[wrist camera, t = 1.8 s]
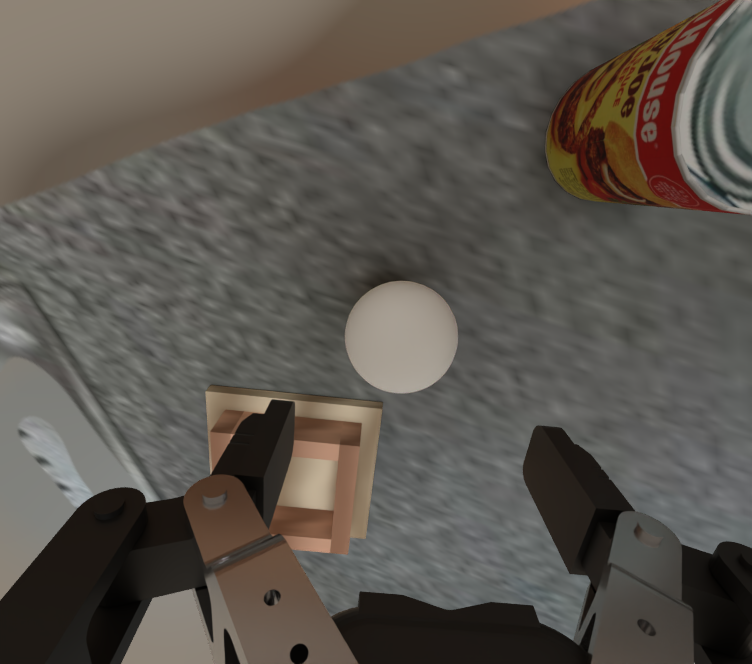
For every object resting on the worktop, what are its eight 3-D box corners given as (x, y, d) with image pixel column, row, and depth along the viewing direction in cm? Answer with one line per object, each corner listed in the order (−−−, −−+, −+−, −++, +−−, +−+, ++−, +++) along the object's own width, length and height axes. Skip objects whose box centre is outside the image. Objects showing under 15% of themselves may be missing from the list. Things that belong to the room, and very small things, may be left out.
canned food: (626, 29, 23) (864, -120, 11) (696, 134, 25) (959, 93, 13) (519, 137, 25) (632, 100, 14) (591, 226, 27) (743, 257, 15)
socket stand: (382, 402, 32) (382, 431, 28) (365, 529, 37) (364, 568, 33) (210, 385, 32) (187, 412, 28) (217, 515, 37) (198, 553, 33)
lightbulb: (338, 285, 28) (313, 344, 18) (408, 238, 27) (425, 272, 17) (384, 349, 30) (385, 435, 20) (453, 307, 29) (492, 376, 19)
